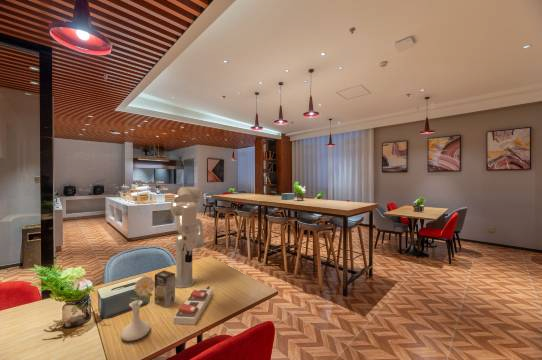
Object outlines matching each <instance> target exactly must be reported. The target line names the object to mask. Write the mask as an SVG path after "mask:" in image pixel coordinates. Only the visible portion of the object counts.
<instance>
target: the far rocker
mask: <svg viewBox="0 0 542 360" xmlns="http://www.w3.org/2000/svg"><path fill="white" fill-rule="evenodd" d="M205 296H206V293H205V292H201V291H198V290H195V289H193V291H192V292H191V293H190V296H189V297H194V298H198V299H204V297H205Z"/></svg>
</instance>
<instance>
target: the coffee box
mask: <svg viewBox="0 0 542 360" xmlns="http://www.w3.org/2000/svg"><path fill="white" fill-rule="evenodd" d="M175 276H176V273H174V272H171V271H167V270H162V271H159V272H157V273H155V274H154V282H155V285H154V304H155V305H158V306H161V307H163V308H168V307H170V306H171V305H173V304H174V303H175V302H176V287H175Z"/></svg>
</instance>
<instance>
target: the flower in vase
mask: <svg viewBox="0 0 542 360" xmlns="http://www.w3.org/2000/svg"><path fill="white" fill-rule="evenodd" d="M154 290H155V280H154V279H153V277H151V276H149V275H148V276H142V277H140V278H139V279H138V280H136V282H135V285H134V292H135V293H136V294H137V296H140V297H139V298H137V297H130V299H131V300H134V301H132V302H130V303H129V304H128V305H129V307H130V308H131V310H132V321H131V322H129V323H128V324H127V325H125V327H124V328H123V329H122V330H121V332H120V338H121V339H122V340H124V341H128V342H129V341H136V340H139V339H141V338H144V337H145V336H146V335H147V334H148V333H149V332H150V330H151V328H152V327H151V324H150V322H148V321H146V320H143V319H141V318H140V308H141V305H142V304H143V303H144V302H143V300H141V299H142V298H144V299H149V298H151V297H152V296H153V293H152V292H154Z"/></svg>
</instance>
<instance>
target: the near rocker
mask: <svg viewBox="0 0 542 360" xmlns="http://www.w3.org/2000/svg"><path fill="white" fill-rule="evenodd" d="M196 309H197V307H196V306H192V305H187V304H184V303H182V304H181V305H180V307H179V309H178V311H179V312H181V313H185V314H194V312H195V311H196Z"/></svg>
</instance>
